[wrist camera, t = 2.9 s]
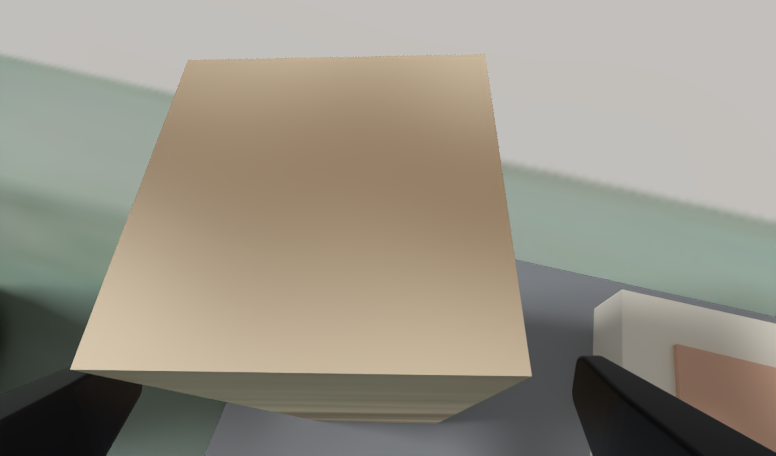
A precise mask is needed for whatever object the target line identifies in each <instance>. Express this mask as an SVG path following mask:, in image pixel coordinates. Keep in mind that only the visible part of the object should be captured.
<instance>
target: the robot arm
mask: <svg viewBox="0 0 776 456" xmlns="http://www.w3.org/2000/svg"><path fill="white" fill-rule="evenodd" d="M70 368H71V366H70V367H67V368H65V369H62V370H60V371H57V372H55V373H53V374H50V375H48V376H45V377H43V378H40V379H38V380H35V381H33V382H31V383H28V384H26V385H23V386H21V387H18V388H16V389H13V390H11V391H9V392H6V393H4V394H1V395H0V456H106V455H107V453H108V451H109V449H110V448H111V446H112V444H113V442H114V441H115V439H116V437H117V435H118V434H119V432H120V430H121V428H122V427H123V425H124V423H125V421H126V420H127V418H128V416H129V414H130V413H131V411H132V409H133V407H134V405H135V404H136V402H137V400H138V398H139V397H140V394H141V391H142V384H137V383H132V382H127V381H122V380H118V379H113V378H108V377H103V376H98V375H93V374H89V373H84V372H79V371H74V370H70ZM572 398H573V403H574V406H575V408H576V411H577V414H578V417H579V420H580V422H581V425H582V428H583V431H584V433H585V436H586V439H587V442H588V445H589V447H590V450H591V453H592V456H776V452H774V451H772V450H771V449H769V448H767V447H765V446H763V445H762V444H760V443H758V442H756V441H754V440H753V439H751V438H749V437H747V436H745V435H744V434H742V433H740V432H738V431H736V430H735V429H733V428H731V427H729V426H727V425H726V424H724V423H722V422H720V421H718V420H716V419H715V418H713V417H711V416H709V415H707V414H706V413H704V412H702V411H700V410H698V409H697V408H695V407H693V406H691V405H689V404H688V403H686V402H684V401H682V400H680V399H679V398H677V397H675V396H673V395H671V394H670V393H668V392H666V391H664V390H662V389H661V388H659V387H657V386H655V385H653V384H651V383H650V382H648V381H646V380H644V379H642V378H641V377H639V376H637V375H635V374H633V373H632V372H630V371H628V370H626V369H624V368H623V367H621V366H619V365H617V364H615V363H614V362H612V361H610V360H608V359H606V358H605V357H603V356H599V355H581V356H579V357H578V359H577V361H576V366H575V373H574V380H573V387H572Z"/></svg>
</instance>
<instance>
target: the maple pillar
mask: <svg viewBox="0 0 776 456" xmlns="http://www.w3.org/2000/svg"><path fill="white" fill-rule="evenodd" d="M70 370H74V371H79V372H84V373H89V374H93V375H98V376H103V377H108V378H113V379H118V380H122V381H127V382H132V383H137V384H142V385H146V386H151V387H156V388H161V389H166V390H170V391H175V392H180V393H185V394H190V395H195V396H199V397H204V398H209V399H214V400H219V401H223V402H228V403H233V404H238V405H243V406H248V407H252V408H257V409H262V410H267V411H272V412H276V413H281V414H286V415H291V416H296V417H301V418H305V419H310V420H315V421H330V422H380V423H430V424H437V423H439V422H441V421H443V420H445V419H447V418H449V417H451V416H453V415H455V414H457V413H459V412H461V411H463V410H465V409H467V408H469V407H471V406H473V405H475V404H477V403H479V402H481V401H483V400H485V399H487V398H489V397H491V396H493V395H495V394H497V393H499V392H501V391H503V390H505V389H507V388H509V387H511V386H514V385H516V384H518V383H520V382H522V381H524V380H526V379H528V378H530V377H532V373H531V367H530V360H529V353H528V346H527V339H526V332H525V325H524V318H523V311H522V305H521V298H520V291H519V284H518V277H517V270H516V263H515V256H514V250H513V243H512V236H511V229H510V222H509V215H508V208H507V201H506V194H505V188H504V181H503V174H502V167H501V160H500V153H499V146H498V139H497V133H496V126H495V119H494V112H493V105H492V98H491V91H490V85H489V77H488V71H487V64H486V57H485V54H480V55H478V54H477V55H427V56H379V57H377V56H376V57H325V58H275V59H227V60H226V59H225V60H188V62H187V64H186V67H185V69H184V72H183V75H182V77H181V80H180V83H179V85H178V88H177V90H176V93H175V96H174V98H173V101H172V104H171V106H170V109H169V111H168V114H167V117H166V119H165V122H164V124H163V127H162V130H161V132H160V135H159V138H158V140H157V143H156V145H155V148H154V151H153V153H152V156H151V159H150V161H149V164H148V166H147V169H146V172H145V174H144V177H143V179H142V182H141V185H140V187H139V190H138V193H137V195H136V198H135V200H134V203H133V206H132V208H131V211H130V214H129V216H128V219H127V221H126V224H125V227H124V229H123V232H122V234H121V237H120V240H119V242H118V245H117V248H116V250H115V253H114V255H113V258H112V261H111V263H110V266H109V268H108V271H107V274H106V276H105V279H104V282H103V284H102V287H101V289H100V292H99V295H98V297H97V300H96V303H95V305H94V308H93V310H92V313H91V316H90V318H89V321H88V323H87V326H86V329H85V331H84V334H83V337H82V339H81V342H80V344H79V347H78V350H77V352H76V355H75V358H74V360H73V363H72V365H71V368H70Z"/></svg>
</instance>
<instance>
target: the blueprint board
mask: <svg viewBox="0 0 776 456" xmlns="http://www.w3.org/2000/svg"><path fill="white" fill-rule="evenodd" d="M515 263H516V270H517V277H518V284H519V291H520V298H521V305H522V311H523V318H524V325H525V332H526V339H527V346H528V353H529V360H530V367H531V373H532V377H530V378H528V379H526V380H524V381H522V382H520V383H518V384H516V385H514V386H511V387H509V388H507V389H505V390H503V391H501V392H499V393H497V394H495V395H493V396H491V397H489V398H487V399H485V400H483V401H481V402H479V403H477V404H475V405H473V406H471V407H469V408H467V409H465V410H463V411H461V412H459V413H457V414H455V415H453V416H451V417H449V418H447V419H445V420H443V421H441V422H439V423H437V424H430V423H380V422H330V421H315V420H310V419H305V418H301V417H296V416H291V415H286V414H281V413H276V412H272V411H267V410H262V409H257V408H252V407H248V406H243V405H238V404H233V403H228V402H226V404H225V407H224V409H223V411H222V414H221V416H220V419H219V421H218V423H217V426H216V428H215V430H214V433H213V435H212V438H211V440H210V442H209V445H208V447H207V449H206V452H205V454H204V456H592V453H591V450H590V447H589V445H588V442H587V439H586V436H585V433H584V431H583V428H582V425H581V422H580V420H579V417H578V414H577V411H576V408H575V406H574V403H573V398H572V387H573V380H574V373H575V366H576V361H577V359H578V357H579V356H581V355H599V356H603V357H605V358H606V359H608V360H610V361H612V362H614V363H615V364H617V365H619V366H621V367H623V368H624V369H626V370H628V371H630V372H632V373H633V374H635V375H637V376H639V377H641V378H642V379H644V380H646V381H648V382H650V383H651V384H653V385H655V386H657V387H659V388H661V389H662V390H664V391H666V392H668V393H670V394H671V395H673V396H675V397H677V398H679V399H680V400H682V401H684V402H686V403H688V404H689V405H691V406H693V407H695V408H697V409H698V410H700V411H702V412H704V413H706V414H707V415H709V416H711V417H713V418H715V419H716V420H718V421H720V422H722V423H724V424H726V425H727V426H729V427H731V428H733V429H735V430H736V431H738V432H740V433H742V434H744V435H745V436H747V437H749V438H751V439H753V440H754V441H756V442H758V443H760V444H762V445H763V446H765V447H767V448H769V449H771V450H772V451H774V452H776V317H773V316H769V315H764V314H760V313H755V312H751V311H746V310H741V309H737V308H732V307H728V306H723V305H719V304H714V303H710V302H705V301H701V300H696V299H692V298H687V297H683V296H678V295H674V294H669V293H665V292H660V291H655V290H651V289H646V288H642V287H637V286H633V285H628V284H624V283H619V282H615V281H610V280H606V279H601V278H597V277H592V276H588V275H583V274H579V273H574V272H570V271H565V270H560V269H556V268H551V267H547V266H542V265H538V264H533V263H529V262H524V261H520V260H515Z"/></svg>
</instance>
